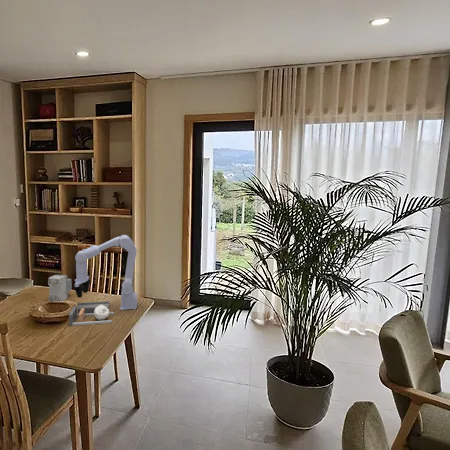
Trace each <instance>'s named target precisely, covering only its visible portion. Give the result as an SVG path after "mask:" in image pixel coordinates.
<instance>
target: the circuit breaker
mask: <svg viewBox="0 0 450 450" xmlns="http://www.w3.org/2000/svg"><path fill="white" fill-rule="evenodd" d="M47 279H48V280H47V284H48V285H47V286H49V287H48V288H49V289H48V290H49V294H48V302H49V301H62V302H63V301H65V300H67V299H68V298H69V294H68V293H69V292H71V291H72V290H73V289H72V288H73V286H72V285H73V284H72V283H73V282H72V278H68V275H66V274H55V275H52V276H50V277H48V278H47Z"/></svg>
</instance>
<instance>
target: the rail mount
mask: <svg viewBox="0 0 450 450" xmlns="http://www.w3.org/2000/svg"><path fill="white" fill-rule="evenodd" d="M99 305H104V306H106V307H107V308H108V309H109V310H110V301H92V302H78V303H77V305H76V306H75V305H74V306H73V307H72V309H71V311H70V312H69V314H68V326H69V327H73V326H85V325H86V326H89V325H100V324H101V325H102V324H103V325H104V324H112V323H113V320H112V319H108V320H98V321H97V320H95V321H83V322H79V321H78V322H77V321H76V319H77V318H79V313H80V311H81V309H82V308H85V317H95V316H94V310H95V308H96V307H97V306H99ZM113 315H115V312H114V311H109V315H108V316H113ZM75 321H76V322H75Z"/></svg>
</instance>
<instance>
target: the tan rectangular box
mask: <svg viewBox="0 0 450 450" xmlns="http://www.w3.org/2000/svg"><path fill="white" fill-rule="evenodd" d="M85 314H86V313H85V308H82V309H81V311H80V313H79V317H78V322H84V319H85V318H86V316H85Z"/></svg>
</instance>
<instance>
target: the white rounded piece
mask: <svg viewBox="0 0 450 450" xmlns="http://www.w3.org/2000/svg"><path fill="white" fill-rule="evenodd" d="M109 312H110V308H109V309H108V308H107V307H106V306H104V305H99V306H97V307H96V308H95V310H94V316H93V317H94V318H95V319H97V320H98V321H104V320H105V319H106V318H108V317H109V316H110V315H109Z"/></svg>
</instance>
